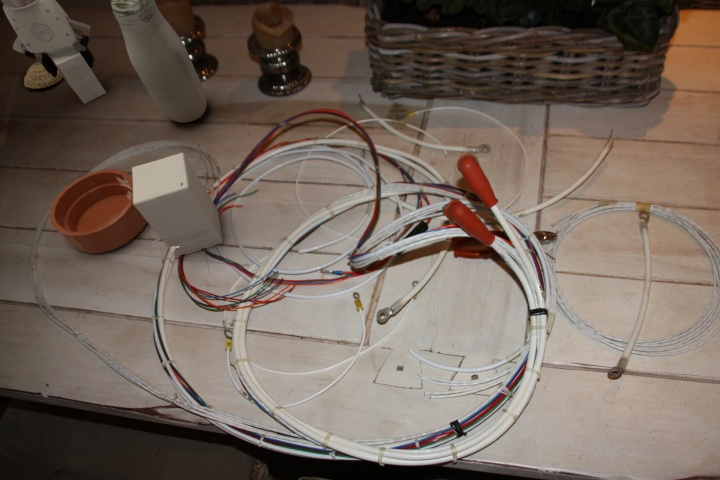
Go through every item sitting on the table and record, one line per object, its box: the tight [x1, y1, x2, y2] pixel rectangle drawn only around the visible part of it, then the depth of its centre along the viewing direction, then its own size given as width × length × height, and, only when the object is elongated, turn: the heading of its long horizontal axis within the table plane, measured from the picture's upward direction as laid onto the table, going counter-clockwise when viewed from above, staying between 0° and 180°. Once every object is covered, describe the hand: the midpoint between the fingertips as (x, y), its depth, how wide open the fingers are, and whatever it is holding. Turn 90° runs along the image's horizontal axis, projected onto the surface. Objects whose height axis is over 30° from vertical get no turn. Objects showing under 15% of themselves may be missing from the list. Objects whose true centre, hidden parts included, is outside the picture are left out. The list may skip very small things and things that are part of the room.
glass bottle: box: [110, 0, 208, 123], centre depth 107 cm, size 10×10×28 cm
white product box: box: [131, 152, 224, 257], centre depth 93 cm, size 9×9×15 cm
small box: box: [45, 45, 107, 105], centre depth 123 cm, size 8×6×10 cm
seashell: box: [23, 61, 64, 90], centre depth 131 cm, size 8×6×8 cm
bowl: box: [49, 168, 148, 254], centre depth 101 cm, size 16×16×6 cm
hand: (73, 68), depth 122 cm, fingers closed on small box, 7 cm apart
